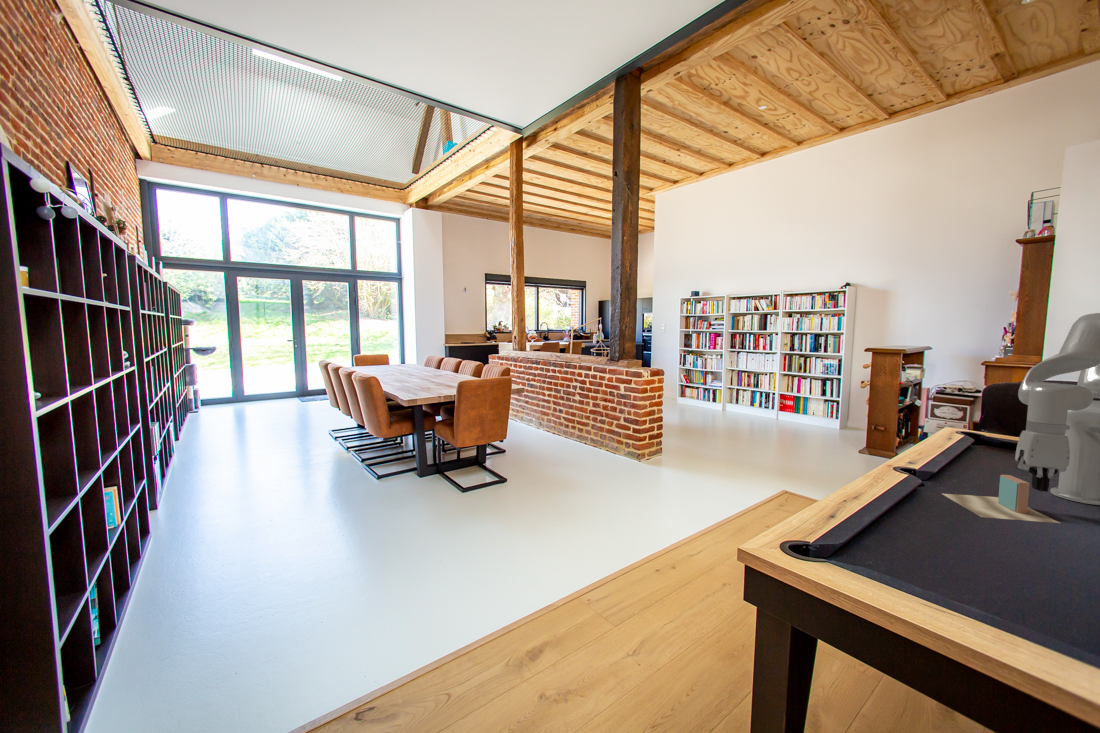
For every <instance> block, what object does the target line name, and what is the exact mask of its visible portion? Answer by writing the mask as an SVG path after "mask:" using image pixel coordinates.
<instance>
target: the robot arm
mask: <svg viewBox="0 0 1100 733" xmlns="http://www.w3.org/2000/svg"><path fill="white" fill-rule="evenodd" d="M1074 372H1075V373H1076V372H1080V373H1079V376H1078V379H1077V383H1076V384H1068V383H1059V382H1047V381H1046V380H1048V379H1050V378H1052V377H1057V376H1059V375H1063V374H1070V373H1074ZM1045 381H1046V382H1045ZM1017 397H1018V399H1019V401H1020V402H1021V403H1022V404H1024V405H1027V412H1026V414H1027V415H1026V425H1025V430H1022V431H1021V433H1020V435H1019V437H1018V440H1017V445H1016V450H1015V455H1014V456H1015V458H1014V460H1015V462H1017V463H1018V464H1017V468H1018V469H1020V470H1024V471H1027V472H1028V473H1029V475H1031V476H1032V478H1031V488H1032V489H1034V490H1036V491H1038V492H1045V493H1046V492H1047V493H1048V491H1049V488H1050V479H1053V478H1054V476H1055V475H1057V474H1058V473H1059V474H1058V476H1059V477H1058V486H1055V487H1051V488H1050V493H1051V494H1052V495H1054V496H1056V497H1059V498H1062V499H1065V500H1069V501H1071V502H1077V503H1081V504H1087V505H1095V506H1100V400H1094V399H1100V312H1095V313H1089V314H1084V315H1082V316H1080V317H1079V318H1077V320H1075V322H1074V323H1073V324H1072V325H1071V328H1070V329H1069V330H1068V334H1067V335H1066V336H1065V340H1064V342H1063V343H1062V346H1061V348H1060V350H1059V352H1058V353H1057V354H1055V355H1053V356H1050V357H1048V358H1046V359H1044V360H1042V361H1040V362H1039V363H1036V364H1035V365H1034V366H1032V367H1031V368H1030V369H1028V371H1027V372H1026V373H1025V376H1024V378H1023V380H1022V381H1021V383H1020V386H1019V388H1018V392H1017Z"/></svg>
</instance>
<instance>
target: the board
mask: <svg viewBox="0 0 1100 733" xmlns="http://www.w3.org/2000/svg"><path fill="white" fill-rule="evenodd" d="M941 495H943V496H944V497H946V498H948V499H949V500H951V501H953V502H955V503H957V504H958V505H960V506H962V507H963V508H965V509H966V510H969V511H970V512H972V513H973V514H975V515H977V516H978V517H981V518H984V519H997V520H998V519H999V520H1000V519H1001V520H1010V521H1011V520H1013V521H1026V522H1037V523H1038V522H1041V523H1050V524H1052V523H1053V524H1054V523H1055V524H1061V522H1059V521H1057V520H1055V519H1053V518H1051V517H1049V516H1047V515H1045V514H1043V513H1041V512H1038V511H1037V510H1035V509H1032V508H1030V507H1029V506H1028V509H1027V513H1016V512H1014V511H1013V510H1011V509H1009V508H1007V507H1005V506H1003V505H1001V504H999V503H998V497H999V496H983V495H971V494H953V493H941Z"/></svg>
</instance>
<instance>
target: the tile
mask: <svg viewBox="0 0 1100 733" xmlns="http://www.w3.org/2000/svg"><path fill="white" fill-rule="evenodd" d="M1030 486H1031V483H1030V482H1027V481H1025V480H1023V479H1021V478H1018V477H1015V476H1013V475H1011V474H1000V476H999V485H998V488H999V489H998V496H997V497H998V503H999V504H1001V505H1003V506H1005V507H1007V508H1009V509H1011V510H1013V511H1014V512H1016V513H1027V509H1028V507H1029V495H1030Z"/></svg>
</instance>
